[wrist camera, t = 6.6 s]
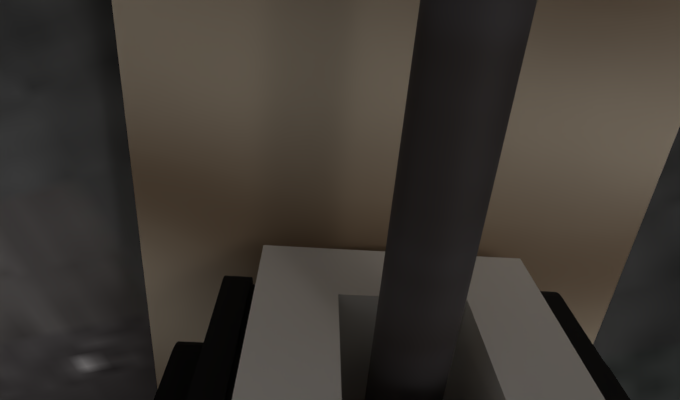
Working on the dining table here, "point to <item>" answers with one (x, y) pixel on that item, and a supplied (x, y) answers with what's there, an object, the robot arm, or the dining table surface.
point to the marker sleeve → (359, 323)
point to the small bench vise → (394, 151)
